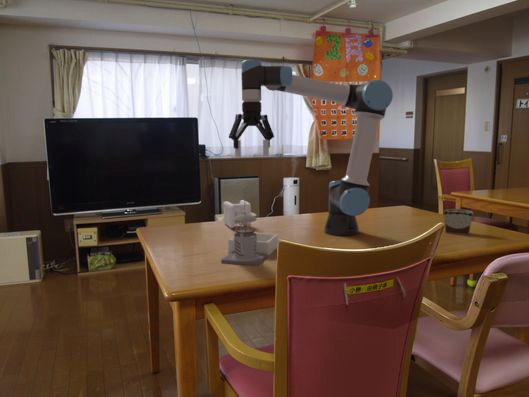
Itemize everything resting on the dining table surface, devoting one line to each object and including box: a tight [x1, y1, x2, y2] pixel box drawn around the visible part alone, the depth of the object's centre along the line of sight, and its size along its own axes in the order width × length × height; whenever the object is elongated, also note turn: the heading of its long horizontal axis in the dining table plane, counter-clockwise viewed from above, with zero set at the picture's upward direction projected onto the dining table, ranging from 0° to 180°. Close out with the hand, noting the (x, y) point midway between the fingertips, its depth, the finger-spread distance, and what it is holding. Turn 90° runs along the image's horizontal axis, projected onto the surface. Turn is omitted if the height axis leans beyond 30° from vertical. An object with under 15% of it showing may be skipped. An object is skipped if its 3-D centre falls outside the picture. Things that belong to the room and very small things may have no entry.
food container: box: [442, 208, 475, 236], centre depth 187 cm, size 12×6×10 cm, turn 65°
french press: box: [232, 185, 260, 261], centre depth 147 cm, size 10×12×25 cm
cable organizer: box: [222, 199, 252, 229], centre depth 204 cm, size 15×11×12 cm
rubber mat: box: [220, 251, 268, 267], centre depth 149 cm, size 13×11×1 cm
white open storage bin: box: [227, 232, 279, 257], centre depth 161 cm, size 15×13×5 cm
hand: (252, 156), depth 168 cm, fingers open, 13 cm apart
